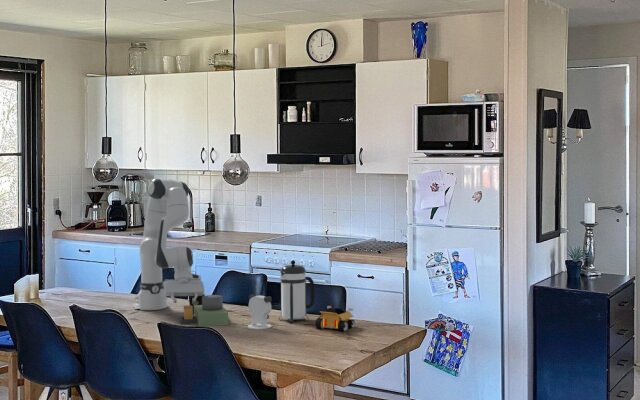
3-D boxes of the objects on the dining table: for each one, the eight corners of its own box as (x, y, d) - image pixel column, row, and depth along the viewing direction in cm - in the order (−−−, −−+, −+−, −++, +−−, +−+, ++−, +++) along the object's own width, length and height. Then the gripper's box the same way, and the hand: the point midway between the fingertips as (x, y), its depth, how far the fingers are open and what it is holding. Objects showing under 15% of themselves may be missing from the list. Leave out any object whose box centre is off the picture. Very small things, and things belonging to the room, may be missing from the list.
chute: (183, 321, 415) (183, 305, 414) (192, 321, 416) (191, 305, 415) (184, 323, 411) (184, 307, 410) (193, 322, 412) (192, 306, 411)
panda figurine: (277, 326, 403) (276, 295, 402) (262, 330, 393) (262, 298, 392) (257, 323, 409) (257, 292, 408) (242, 327, 400) (242, 296, 399)
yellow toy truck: (356, 327, 399) (356, 305, 398) (341, 333, 386) (341, 310, 385) (329, 324, 406) (329, 302, 406) (313, 330, 394) (313, 307, 393)
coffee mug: (185, 313, 436) (184, 294, 436) (195, 310, 444) (194, 291, 443) (203, 315, 431) (203, 296, 430) (213, 312, 438) (212, 293, 438)
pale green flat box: (178, 318, 424) (177, 294, 423) (221, 315, 430) (221, 292, 429) (182, 327, 401) (182, 302, 400) (228, 324, 406) (227, 300, 406)
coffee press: (307, 323, 407) (306, 262, 405) (275, 322, 410) (274, 261, 408) (314, 316, 424) (314, 258, 422) (283, 316, 427) (283, 257, 425)
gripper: (162, 276, 421) (163, 298, 413) (203, 275, 427) (205, 298, 418) (162, 283, 426) (163, 305, 417) (202, 283, 431) (204, 305, 422)
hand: (184, 302), depth 417 cm, fingers open, 8 cm apart
